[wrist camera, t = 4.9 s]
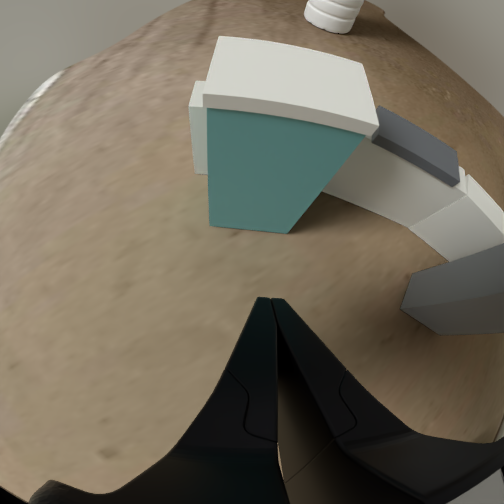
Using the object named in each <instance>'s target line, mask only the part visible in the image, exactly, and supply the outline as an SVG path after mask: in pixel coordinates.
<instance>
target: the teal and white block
mask: <svg viewBox="0 0 504 504" xmlns="http://www.w3.org/2000/svg"><path fill="white" fill-rule="evenodd" d="M203 108H207V165H208V197H209V221H210V226H217V227H227V228H237V229H247V230H257V231H266V232H276V233H285V234H287V233H288V232H289V231H290V229H291V228H292V227H293V226H294V225H295V223H296V222H297V221H298V220H299V218H300V217H301V216H302V215H303V213H304V212H305V211H306V210H307V209H308V207H309V206H310V205H311V204H312V202H313V201H314V200H315V199H316V197H317V196H318V195H319V194H320V192H321V191H322V190H323V189H324V187H325V186H326V185H327V184H328V183H329V181H330V180H331V179H332V178H333V176H334V175H335V174H336V173H337V171H338V170H339V169H340V168H341V166H342V165H343V164H344V163H345V161H346V160H347V159H348V157H349V156H350V155H351V154H352V152H353V151H354V150H355V149H356V147H357V146H358V145H359V144H360V142H361V141H362V140H363V139H364V137H365V136H366V135H368V136H372V134H373V133H374V132H375V131H376V129H377V128H378V127H379V122H378V118H377V114H376V110H375V106H374V102H373V98H372V95H371V91H370V88H369V84H368V81H367V77H366V74H365V71H364V68H363V65H362V64H361V63H358V62H355V61H352V60H348V59H345V58H342V57H338V56H335V55H331V54H327V53H323V52H320V51H315V50H311V49H307V48H302V47H297V46H293V45H287V44H282V43H276V42H270V41H263V40H256V39H248V38H238V37H227V36H219V38H218V41H217V45H216V48H215V51H214V54H213V58H212V61H211V65H210V68H209V72H208V75H207V79H206V83H205V86H204V90H203Z"/></svg>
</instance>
